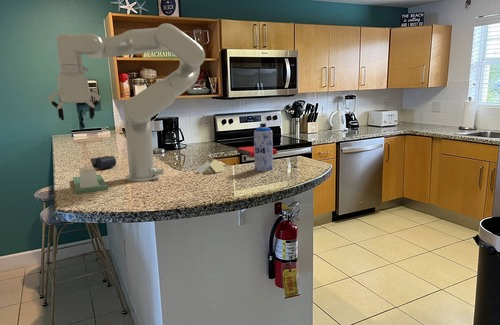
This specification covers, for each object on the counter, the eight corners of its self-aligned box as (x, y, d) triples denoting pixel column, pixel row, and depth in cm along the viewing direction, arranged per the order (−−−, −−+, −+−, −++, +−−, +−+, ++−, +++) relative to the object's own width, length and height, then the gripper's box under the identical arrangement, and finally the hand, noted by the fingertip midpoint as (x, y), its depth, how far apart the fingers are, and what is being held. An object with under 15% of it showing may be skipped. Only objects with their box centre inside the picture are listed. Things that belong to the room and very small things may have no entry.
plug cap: (80, 183, 130) (79, 168, 129) (95, 181, 132) (93, 166, 131) (82, 187, 123) (80, 171, 122) (97, 185, 125) (95, 170, 124)
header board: (73, 180, 140) (72, 177, 140) (100, 177, 145) (100, 174, 145) (76, 193, 120) (76, 190, 119) (108, 189, 124) (107, 186, 124)
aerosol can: (250, 173, 145) (249, 123, 142) (259, 169, 152) (258, 122, 148) (268, 174, 141) (267, 124, 138) (276, 171, 148) (275, 122, 145)
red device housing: (237, 157, 189) (237, 147, 188) (261, 154, 194) (261, 145, 194) (250, 162, 173) (250, 151, 172) (277, 159, 178) (276, 149, 177)
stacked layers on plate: (210, 186, 145) (218, 179, 142) (196, 169, 144) (204, 162, 141) (221, 176, 153) (229, 170, 150) (207, 160, 153) (215, 153, 150)
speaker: (110, 166, 170) (91, 170, 163) (108, 155, 170) (89, 158, 162) (118, 166, 166) (99, 170, 159) (116, 155, 166) (97, 158, 158)
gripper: (96, 72, 135) (100, 117, 138) (43, 71, 126) (49, 120, 129) (99, 70, 129) (104, 118, 132) (44, 69, 120) (51, 121, 123)
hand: (77, 119), depth 130 cm, fingers open, 9 cm apart
